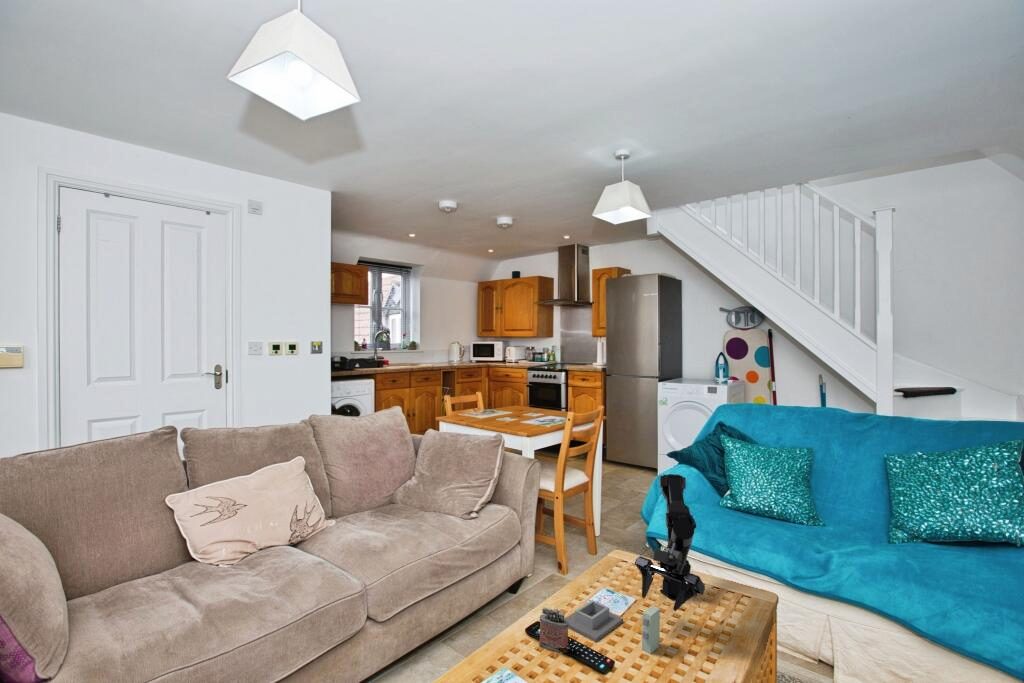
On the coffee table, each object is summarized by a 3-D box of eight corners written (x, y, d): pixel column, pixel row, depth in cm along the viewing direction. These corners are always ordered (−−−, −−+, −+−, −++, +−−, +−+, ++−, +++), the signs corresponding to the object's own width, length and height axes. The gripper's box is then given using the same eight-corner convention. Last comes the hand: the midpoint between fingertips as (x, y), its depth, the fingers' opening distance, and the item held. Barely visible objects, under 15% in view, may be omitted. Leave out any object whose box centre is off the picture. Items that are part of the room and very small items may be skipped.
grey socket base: (623, 622, 144) (623, 608, 144) (595, 642, 134) (595, 627, 134) (589, 606, 152) (589, 593, 152) (560, 624, 142) (561, 610, 142)
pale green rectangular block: (659, 646, 132) (659, 608, 132) (649, 655, 128) (649, 616, 128) (651, 642, 134) (651, 605, 134) (640, 651, 130) (641, 613, 130)
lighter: (570, 648, 131) (570, 610, 131) (566, 655, 128) (566, 616, 128) (541, 640, 134) (542, 603, 134) (537, 647, 131) (537, 609, 131)
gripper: (638, 528, 145) (617, 578, 136) (701, 546, 132) (682, 603, 124) (651, 547, 150) (631, 596, 142) (712, 567, 137) (695, 622, 129)
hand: (658, 603), depth 134 cm, fingers open, 9 cm apart
